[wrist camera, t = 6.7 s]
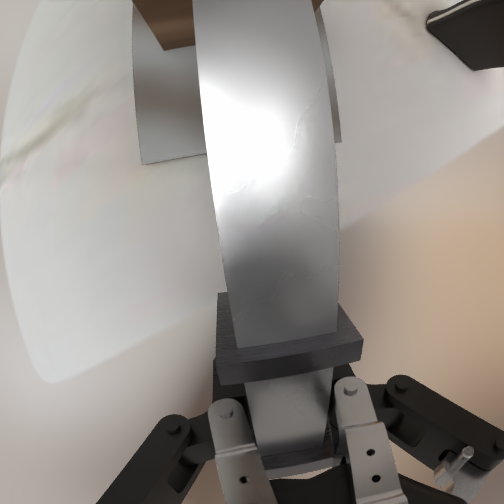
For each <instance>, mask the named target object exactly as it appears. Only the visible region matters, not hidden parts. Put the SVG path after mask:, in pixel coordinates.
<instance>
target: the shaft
mask: <svg viewBox="0 0 504 504" xmlns="http://www.w3.org/2000/svg"><path fill="white" fill-rule="evenodd" d="M192 1H193V16H194V29H195V42H196V53H197V64H198V75H199V85H200V94H201V104H202V113H203V122H204V130H205V139H206V147H207V155H208V163H209V171H210V178H211V186H212V193H213V200H214V207H215V214H216V221H217V228H218V235H219V241H220V248H221V254H222V261H223V267H224V273H225V279H226V285H227V291H228V292H224V293H218V301H217V328H216V369H217V373H218V376H219V380H220V384H221V386H222V385H231V384H240V383H244V384H245V390H246V394H247V399H248V404H249V409H250V414H251V419H252V424H253V427H250V431H251V434H252V437H253V440H254V443H255V445H256V447H257V449H258V452H259V455H260V458H261V460H262V463H263V466H264V469H265V471H266V474H267V477H268V479H274V478H280V477H287V476H292V475H297V474H303V473H307V472H312V471H316V470H321V469H324V468H329V467H332V465H333V455H332V447H331V439H330V432H329V417H328V408H329V401H330V393H331V384H332V376H333V367H336V366H340V365H344V364H348V363H352V362H356V361H359V360H360V358H361V353H362V347H363V340H364V339H363V338H362V336H361V335H360V333H359V332H358V330H357V329H356V327H355V326H354V325H353V323H352V322H351V320H350V319H349V317H348V316H347V315H346V313H345V312H344V310H343V309H342V307H341V306H340V305H339V303H338V289H339V208H338V185H337V168H336V155H335V143H334V132H333V123H332V114H331V106H330V98H329V90H328V84H327V77H326V71H325V64H324V59H323V53H322V48H321V42H320V37H319V32H318V28H317V23H316V18H315V14H314V10H313V5H312V1H311V0H192Z"/></svg>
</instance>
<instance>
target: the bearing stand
mask: <svg viewBox="0 0 504 504" xmlns="http://www.w3.org/2000/svg"><path fill="white" fill-rule="evenodd" d="M132 1H133V19H132V52H133V78H134V94H135V107H136V118H137V128H138V137H139V145H140V153H141V160H142V165H145V164H151V163H156V162H161V161H166V160H171V159H177V158H182V157H188V156H194V155H201V154H207V147H206V139H205V130H204V122H203V113H202V104H201V94H200V85H199V75H198V64H197V53H196V42H195V29H194V16H193V1H192V0H132ZM311 1H312V5H313V10H314V14H315V18H316V23H317V28H318V32H319V37H320V42H321V48H322V53H323V59H324V64H325V71H326V77H327V84H328V90H329V98H330V106H331V114H332V123H333V132H334V143H337V142H342V141H341V130H340V121H339V112H338V104H337V96H336V89H335V82H334V76H333V70H332V64H331V58H330V53H329V47H328V42H327V37H326V32H325V28H324V23H323V19H322V15H321V10H320V5H321V3H322V2H323V0H311Z"/></svg>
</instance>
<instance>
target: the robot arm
mask: <svg viewBox="0 0 504 504" xmlns="http://www.w3.org/2000/svg"><path fill="white" fill-rule="evenodd" d="M328 417H329V432H330V439H331V447H332V455H333V465H332V468H331V469H329V470H327V471H325V472H323V473H321V474H319V475H317V476H315V477H312V478H310V479H273V480H269V479H268V477H267V474H266V471H265V469H264V466H263V463H262V460H261V458H260V455H259V452H258V449H257V447H256V445H255V443H254V440H253V437H252V434H251V431H250V427H253V424H252V419H251V414H250V409H249V404H248V399H247V394H246V390H245V384H244V383H240V384H231V385H222V386H221V384H220V380H219V376H218V373H217V369H216V357H215V359H214V360H213V401H212V404H211V406H210V407H209V409H208V411H207V412H205V413H204V414H202V415H200V416H197V417H194V418H191V419H187V418H185V417H184V416H181V415H176V414H173V415H168V416H166V417H164V418H162V419H161V420H160V421H159V422H158V424H157V425H156V426H155V428H154V429H153V430H152V432H151V433H150V434H149V436H148V437H147V438H146V440H145V441H144V442H143V444H142V445H141V446H140V448H139V449H138V450H137V452H136V453H135V454H134V455H133V457H132V458H131V459H130V461H129V462H128V463H127V465H126V466H125V467H124V468H123V470H122V471H121V472H120V474H119V475H118V476H117V478H116V479H115V480H114V481H113V483H112V484H111V485H110V486H109V488H108V489H107V490H106V492H105V493H104V494H103V495H102V497H101V498H100V499H99V500H98V502H97V503H96V504H181V503H182V501H183V500H184V498H185V496H186V495H187V493H188V491H189V490H190V488H191V486H192V485H193V483H194V482H195V480H196V478H197V476H198V475H199V473H200V471H201V469H202V468H203V466H204V464H205V462H206V461H208V460H211V459H214V458H215V460H216V464H217V468H218V473H219V477H220V481H221V485H222V489H223V493H224V497H225V501H226V504H470V503H471V501H472V500H473V499H474V497H475V496H476V494H477V493H478V491H479V490H480V488H481V487H482V485H483V484H484V482H485V480H486V479H487V477H488V475H489V474H490V472H491V471H492V470H493V469H494V468H495V467H496V466H497V465H498V464H500V463H501V462H502V461H503V460H504V431H502V430H500V429H499V428H497V427H495V426H493V425H491V424H490V423H488V422H486V421H484V420H483V419H481V418H479V417H477V416H476V415H474V414H472V413H470V412H468V411H467V410H465V409H463V408H462V407H460V406H458V405H457V404H455V403H453V402H451V401H450V400H448V399H446V398H444V397H443V396H441V395H439V394H438V393H436V392H434V391H433V390H431V389H429V388H427V387H426V386H424V385H423V384H421V383H419V382H418V381H416V380H414V379H413V378H411V377H409V376H406V375H396V376H393V377H391V378H390V379H389V380H388V382H387V384H379V385H371V384H366V383H365V382H364V381H363V380H362V379H360V378H357V377H356V376H355V375H354V373H353V371H352V369H351V367H350V365H349V363H348V364H344V365H340V366H336V367H333V376H332V384H331V393H330V401H329V408H328ZM389 440H391V441H392V442H393V443H395V444H396V445H398V446H399V447H400V448H402V449H403V450H405V451H406V452H407V453H409V454H410V455H412V456H413V457H414V458H416V459H417V460H419V461H420V462H422V463H423V464H425V465H426V466H428V467H429V468H430V469H432V470H433V471H434V480H435V484H437V485H439V486H440V487H441V489H442V491H440V490H437V489H435V488H432V487H430V486H427V485H425V484H422V483H419V482H417V481H415V480H413V479H410V478H408V477H405V476H403V475H401V474H399V473H397V469H396V465H395V461H394V457H393V453H392V449H391V446H390V443H389Z"/></svg>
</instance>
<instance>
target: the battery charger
mask: <svg viewBox="0 0 504 504" xmlns="http://www.w3.org/2000/svg"><path fill="white" fill-rule="evenodd" d="M427 25H428V30H429V31H431V32H432V33H433V34H434V35H435V36H436V37H437V38H439V39H440V40H441V41H442V42H443V43H444V44H445V45H447V46H448V47H449V48H450V49H451V50H452V51H453V52H454V53H455V54H457V55H458V56H459V57H460V58H461V59H462V60H463V61H464V62H465V63H466V64H467V65H469V66H470V67H471V68H472V69H473V70H474V71H478V70H483V69H490V68H497V67H504V0H463V1H461V2H459V3H457V4H455V5H453V6H452V7H450V8H447V9H445V10H441V11H435V12H433V13H431V14H430V16H429V20H428V21H427Z"/></svg>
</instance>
